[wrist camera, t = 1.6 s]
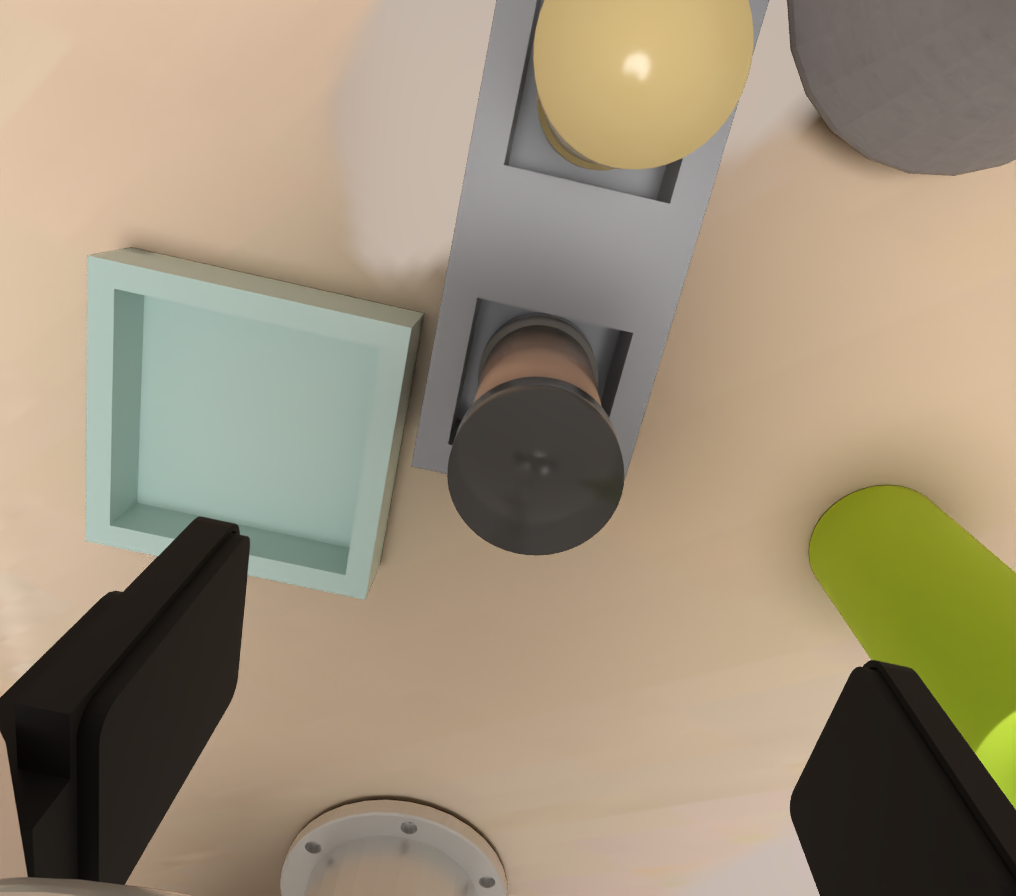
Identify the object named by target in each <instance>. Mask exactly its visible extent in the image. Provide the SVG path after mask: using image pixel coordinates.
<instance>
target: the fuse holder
mask: <svg viewBox="0 0 1016 896" xmlns="http://www.w3.org/2000/svg"><path fill="white" fill-rule="evenodd" d="M544 1H545V0H496V6H495V11H494V17H493V22H492V28H491V34H490V39H489V44H488V50H487V55H486V61H485V66H484V72H483V77H482V82H481V88H480V93H479V99H478V105H477V110H476V116H475V121H474V126H473V132H472V137H471V143H470V148H469V153H468V159H467V164H466V170H465V175H464V181H463V187H462V192H461V197H460V203H459V208H458V214H457V219H456V225H455V230H454V236H453V241H452V246H451V252H450V257H449V263H448V268H447V274H446V279H445V285H444V290H443V296H442V301H441V306H440V312H439V317H438V323H437V328H436V334H435V339H434V345H433V350H432V356H431V361H430V367H429V372H428V378H427V383H426V388H425V394H424V399H423V405H422V410H421V416H420V421H419V427H418V432H417V438H416V443H415V449H414V454H413V460H412V465H411V466H412V467H417V468H421V469H426V470H430V471H435V472H440V473H444V474H447V469H448V461H449V456H450V452H451V449H452V446H453V443H454V440H455V437H456V433H457V430H458V428H459V425H460V423H461V421H462V419H463V417H464V416H465V414H466V412H467V411H468V409H469V408H470V407H471V406H472V405H473V402H474V399H475V396H476V392H477V389H478V370H479V364H480V361H481V358H482V355H483V352H484V349H485V347H486V344H487V342H488V341H489V339H490V337H491V336H492V335H493V333H494V332H495V331H496V330H497V329H498V328H499V327H500V326H501V325H503V324H504V323H505V322H507V321H509V320H510V319H512V318H514V317H517V316H519V315H523V314H527V313H534V312H543V313H547V314H552V315H556V316H560V317H562V318H565V319H567V320H568V321H570V322H571V323H573V324H574V325H575V326H576V327H578V328H579V329H580V330H581V332H582V333H583V334H584V335H585V337H586V338H587V339H588V341H589V343H590V345H591V348H592V350H593V353H594V357H595V360H596V364H597V369H598V386H597V390H598V394H599V398H600V402H601V406H602V408H603V409H604V411H605V412H606V413H607V415H608V417H609V418H610V420H611V422H612V424H613V427H614V430H615V432H616V436H617V439H618V443H619V446H620V450H621V453H622V458H623V463H624V480H625V477H626V473H627V470H628V467H629V463H630V460H631V457H632V453H633V450H634V447H635V443H636V440H637V437H638V434H639V430H640V427H641V424H642V420H643V417H644V414H645V410H646V407H647V404H648V400H649V397H650V394H651V390H652V387H653V384H654V380H655V377H656V374H657V371H658V367H659V364H660V361H661V357H662V354H663V351H664V347H665V344H666V341H667V337H668V334H669V331H670V327H671V324H672V321H673V317H674V314H675V311H676V308H677V304H678V301H679V298H680V294H681V291H682V288H683V284H684V281H685V278H686V274H687V271H688V268H689V264H690V261H691V258H692V254H693V251H694V248H695V245H696V241H697V238H698V235H699V231H700V228H701V225H702V221H703V218H704V215H705V211H706V208H707V205H708V201H709V198H710V195H711V191H712V188H713V185H714V182H715V178H716V175H717V172H718V168H719V165H720V162H721V158H722V155H723V152H724V148H725V145H726V142H727V138H728V135H729V132H730V128H731V125H732V122H733V118H734V115H735V112H736V109H737V105H738V102H739V100H738V102H737V104H736V106H735V108H734V109H733V111H732V113H731V114H730V116H729V117H728V119H727V120H726V121H725V123H724V124H723V125H722V126H721V127H720V129H719V130H718V131H717V132H716V133H715V134H714V135H713V136H712V137H711V138H710V139H709V140H708V141H707V142H706V143H704V144H703V145H702V146H700V147H699V148H698V149H696V150H695V151H694V152H692V153H690V154H688V155H687V156H685V157H683V158H681V159H679V160H677V161H674V162H672V163H669V164H666V165H662V166H659V167H655V168H647V169H633V170H632V169H612V170H590V169H585V168H582V167H578V166H576V165H574V164H572V163H570V162H569V161H567V160H565V159H564V158H563V157H562V156H560V155H559V154H558V153H557V152H556V151H555V150H554V148H553V147H552V146H551V145H550V143H549V142H548V140H547V138H546V136H545V134H544V132H543V130H542V127H541V124H540V121H539V116H538V108H537V88H536V83H535V72H534V60H533V56H534V39H535V32H536V26H537V22H538V18H539V14H540V11H541V8H542V6H543V3H544ZM748 1H749V5H750V9H751V13H752V22H753V52H754V49H755V46H756V42H757V39H758V36H759V32H760V28H761V26H762V22H763V18H764V16H765V12H766V9H767V6H768V2H769V0H748ZM752 55H753V53H752ZM739 99H740V98H739Z"/></svg>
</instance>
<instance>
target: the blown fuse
mask: <svg viewBox="0 0 1016 896" xmlns="http://www.w3.org/2000/svg"><path fill="white" fill-rule="evenodd" d="M597 386H598V369H597V364H596V360H595V357H594V353H593V350H592V348H591V345H590V343H589V341H588V339H587V338H586V337H585V335H584V334H583V333H582V332H581V330H580V329H579V328H578V327H576V326H575V325H574V324H573V323H571V322H570V321H568V320H567V319H565V318H562V317H560V316H556V315H552V314H547V313H543V312H534V313H527V314H523V315H519V316H517V317H514V318H512V319H510V320H509V321H507V322H505V323H504V324H503V325H501V326H500V327H499V328H498V329H497V330H496V331H495V332H494V333H493V335H492V336H491V337H490V339H489V341H488V342H487V344H486V347H485V349H484V352H483V355H482V358H481V361H480V364H479V370H478V389H477V392H476V396H475V399H474V402H473V405H472V406H471V407H470V408H469V409H468V411H467V412H466V414H465V416H464V417H463V419H462V421H461V423H460V425H459V428H458V430H457V433H456V437H455V440H454V443H453V446H452V449H451V452H450V456H449V461H448V469H447V474H448V486H449V491H450V494H451V498H452V501H453V503H454V505H455V507H456V510H457V511H458V513H459V514H460V516H461V518H462V519H463V520H464V521H465V523H466V524H467V525H468V526H469V527H470V528H471V529H472V530H473V531H474V532H475V533H476V534H477V535H478V536H480V537H481V538H483V539H484V540H485V541H487V542H489V543H491V544H492V545H494V546H496V547H499V548H501V549H504V550H506V551H510V552H514V553H518V554H525V555H549V554H554V553H559V552H563V551H566V550H569V549H572V548H574V547H576V546H578V545H580V544H582V543H584V542H585V541H587V540H589V539H590V538H591V537H593V536H594V535H595V534H596V533H598V532H599V531H600V530H601V529H602V528H603V527H604V526H605V524H606V523H607V522H608V521H609V519H610V518H611V516H612V515H613V513H614V511H615V510H616V508H617V506H618V503H619V501H620V498H621V495H622V490H623V486H624V463H623V458H622V453H621V450H620V446H619V443H618V439H617V436H616V432H615V430H614V427H613V424H612V422H611V420H610V418H609V417H608V415H607V413H606V412H605V411H604V409H603V408H602V406H601V402H600V398H599V394H598V390H597Z"/></svg>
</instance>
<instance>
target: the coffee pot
mask: <svg viewBox="0 0 1016 896" xmlns="http://www.w3.org/2000/svg"><path fill="white" fill-rule="evenodd" d="M787 3H788V4H787V5H788V19H789V34H790V48H791V52H792V55H793V58H794V61H795V64H796V67H797V70H798V73H799V76H800V79H801V82H802V85H803V88H804V91H805V94H806V96H807V97H808V98H809V100H810V101H811V103H812V104H813V106H814V107H815V108H816V110H817V111H818V113H819V114H820V116H821V117H822V118H823V120H824V121H825V123H826V124H827V126H828V127H829V128H830V130H831V131H832V132H833V133H834V134H836V135H837V136H838V137H840V138H841V139H842V140H844V141H845V142H846V143H848V144H849V145H850V146H851V147H853V148H854V149H855V150H857V151H858V152H859V153H861V154H862V155H863V156H864V157H866V158H868V159H870V160H873V161H876V162H879V163H881V164H884V165H887V166H890V167H893V168H895V169H898V170H901V171H904V172H906V173H912V174H931V175H949V176H955V175H960V174H965V173H969V172H974V171H979V170H983V169H988V168H993V167H997V166H1002V165H1004V164H1007V163H1009V162H1011V161H1013V160H1015V159H1016V0H787Z"/></svg>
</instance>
